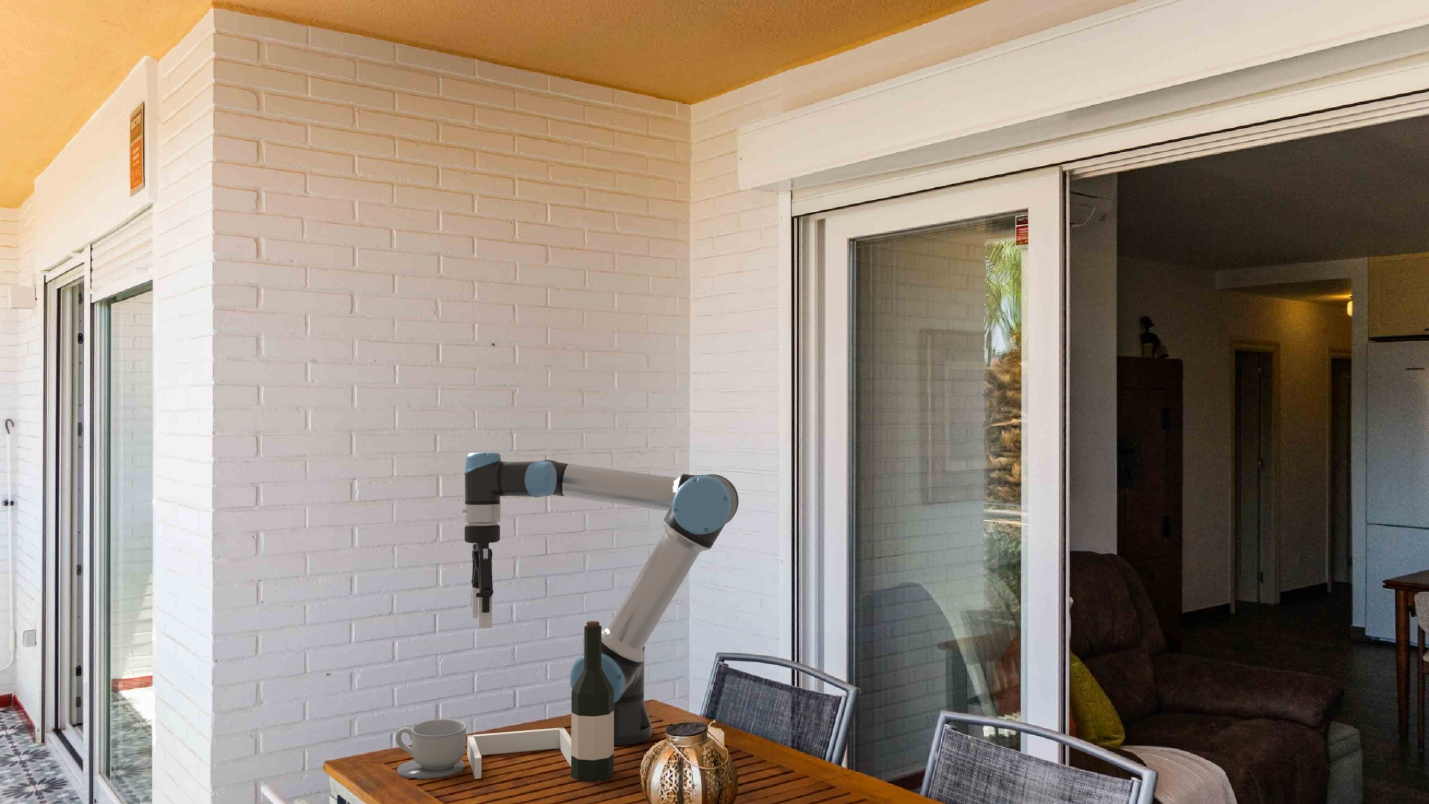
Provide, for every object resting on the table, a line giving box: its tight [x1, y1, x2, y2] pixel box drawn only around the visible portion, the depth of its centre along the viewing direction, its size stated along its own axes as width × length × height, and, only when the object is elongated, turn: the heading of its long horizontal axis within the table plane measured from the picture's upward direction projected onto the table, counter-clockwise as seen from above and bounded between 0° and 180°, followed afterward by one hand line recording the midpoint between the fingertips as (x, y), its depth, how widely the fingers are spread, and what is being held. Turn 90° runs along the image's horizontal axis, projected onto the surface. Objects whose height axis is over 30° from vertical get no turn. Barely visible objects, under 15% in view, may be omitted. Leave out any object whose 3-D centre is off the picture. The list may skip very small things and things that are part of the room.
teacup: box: [395, 718, 467, 770], centre depth 218 cm, size 14×11×8 cm
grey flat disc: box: [396, 759, 465, 780], centre depth 217 cm, size 13×13×1 cm
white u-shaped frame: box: [466, 727, 571, 780], centre depth 222 cm, size 20×17×4 cm
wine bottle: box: [570, 620, 615, 783], centre depth 214 cm, size 8×8×30 cm
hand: (481, 623), depth 233 cm, fingers open, 13 cm apart
